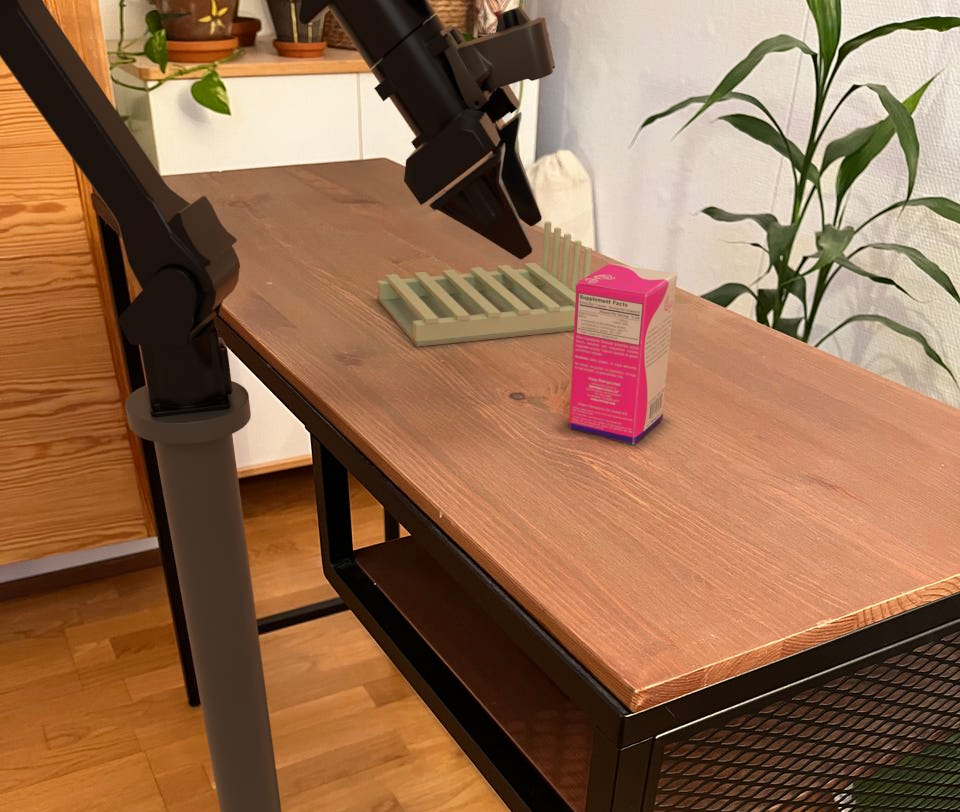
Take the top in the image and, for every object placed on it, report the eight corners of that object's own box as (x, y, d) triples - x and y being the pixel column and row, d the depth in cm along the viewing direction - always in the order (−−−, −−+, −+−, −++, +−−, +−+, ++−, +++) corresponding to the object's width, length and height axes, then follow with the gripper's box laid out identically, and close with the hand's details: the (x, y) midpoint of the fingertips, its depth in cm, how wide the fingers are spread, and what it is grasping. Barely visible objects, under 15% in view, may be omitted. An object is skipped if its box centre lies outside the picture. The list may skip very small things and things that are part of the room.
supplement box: (596, 404, 84) (609, 260, 78) (664, 420, 82) (683, 273, 75) (564, 428, 80) (575, 279, 74) (634, 446, 78) (651, 293, 71)
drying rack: (416, 346, 94) (415, 268, 90) (377, 300, 105) (375, 228, 101) (596, 328, 99) (602, 253, 95) (541, 285, 110) (545, 216, 106)
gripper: (482, -33, 60) (624, 202, 66) (512, -46, 75) (626, 147, 81) (338, 91, 64) (484, 300, 71) (394, 56, 79) (510, 230, 86)
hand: (532, 238), depth 77 cm, fingers open, 9 cm apart
